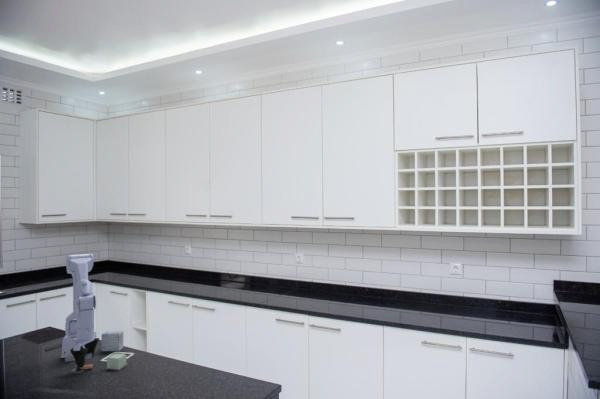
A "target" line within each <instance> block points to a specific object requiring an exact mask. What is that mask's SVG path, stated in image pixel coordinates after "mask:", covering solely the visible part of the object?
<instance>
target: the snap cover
mask: <svg viewBox="0 0 600 399" xmlns="http://www.w3.org/2000/svg"><path fill="white" fill-rule="evenodd" d="M126 357H127V354H118V353H115V354H113V355H112V356H110V357H108V358H107V359H106V360H107V362H106V368H108V369H107V370H111V369H120V368H121V367H123V366H124V365H126V364H127V359H126ZM126 366H127V365H126ZM124 367H125V366H124ZM124 367H123V368H124ZM121 369H122V368H121ZM121 369H120V370H121Z"/></svg>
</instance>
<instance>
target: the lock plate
mask: <svg viewBox="0 0 600 399" xmlns="http://www.w3.org/2000/svg"><path fill="white" fill-rule="evenodd" d="M127 365H128V363H126V365H124V366H123V367H121V368H120V369H110V370H114V371H120V370H121V369H124V368H125V367H126V366H127ZM105 370H109V369H108V368H107V367H105ZM85 371H87V369H81V370H78V371H76V368H73V369H72V370H71V373H72V374H80V373H83V372H85Z"/></svg>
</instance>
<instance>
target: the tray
mask: <svg viewBox="0 0 600 399" xmlns="http://www.w3.org/2000/svg"><path fill="white" fill-rule="evenodd" d="M114 354H125V355H128V356H126V360H128V359H129V358H131V357H132V356H134V355H136V354H135V352H124V351H123V352H122V351H112V353H109V355H107V356H105V357H104V358H102V359H100V360H99V362H104V363H107V359H108V358H109V357H111V356H112V355H114Z"/></svg>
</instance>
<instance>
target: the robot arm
mask: <svg viewBox="0 0 600 399" xmlns="http://www.w3.org/2000/svg"><path fill="white" fill-rule="evenodd" d="M65 260H66V263H65V265H66V266H65V267H66V273H67V274H70V275H71V277H72V298H73V300H72V312H71V313H69V315H67V316H66V318H65V323H64V324H65V326H64V327H65V328H64V330H65V336H64V337H63V339H62V342H61V343H62V344H61V349H62V350H61V355H60V358H61V359H65V356H66V355H73V356H74V358H75V360H74V361H75V366H76V365H77V367H83V366H84V365H85V362H86V359H85V356H86V353H89V352H92V358H89V360H90V359H93V358H94V355H95V351H96V348H97V345H98V342H99V341H100V338H99V337H97V331H95V310H96V307H97V300H96V295H95V292H94V291H93V284H92V282H91V281H90V280H89V272H91V271H92V270H93V267H94V260H95V259H94V254H93V253H84V254H83V253H81V254H80V253H79V254H67V255H66V259H65Z"/></svg>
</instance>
